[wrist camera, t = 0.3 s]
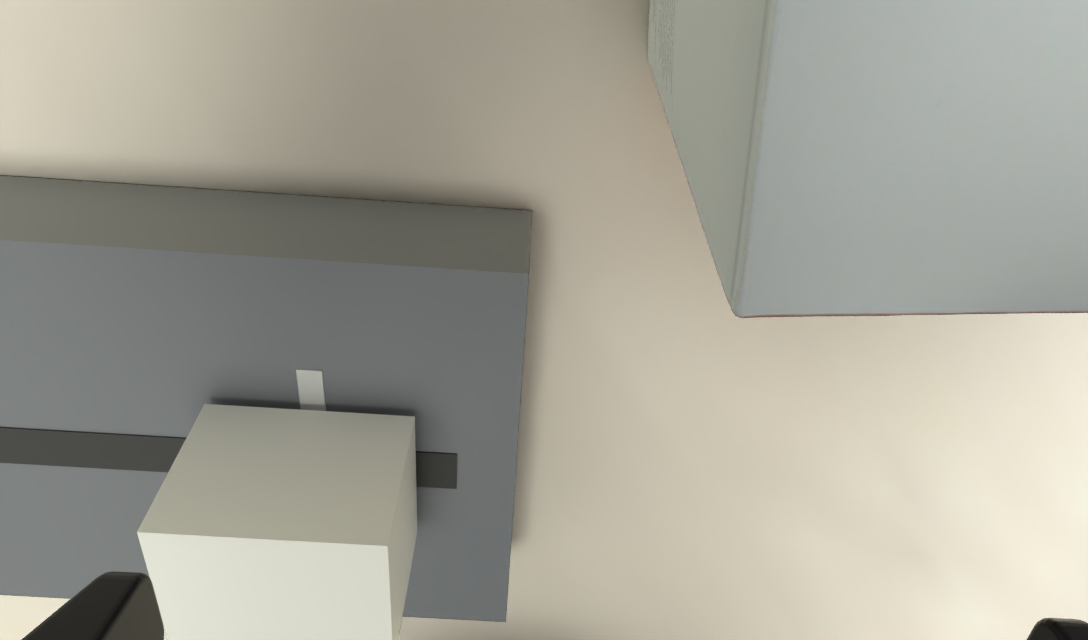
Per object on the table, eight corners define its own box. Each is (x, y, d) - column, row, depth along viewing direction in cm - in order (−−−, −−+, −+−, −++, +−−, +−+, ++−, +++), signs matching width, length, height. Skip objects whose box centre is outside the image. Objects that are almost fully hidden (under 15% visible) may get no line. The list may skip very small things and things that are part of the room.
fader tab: (417, 531, 23) (393, 665, 20) (227, 520, 23) (171, 654, 20) (414, 416, 21) (387, 545, 17) (204, 404, 21) (137, 531, 17)
